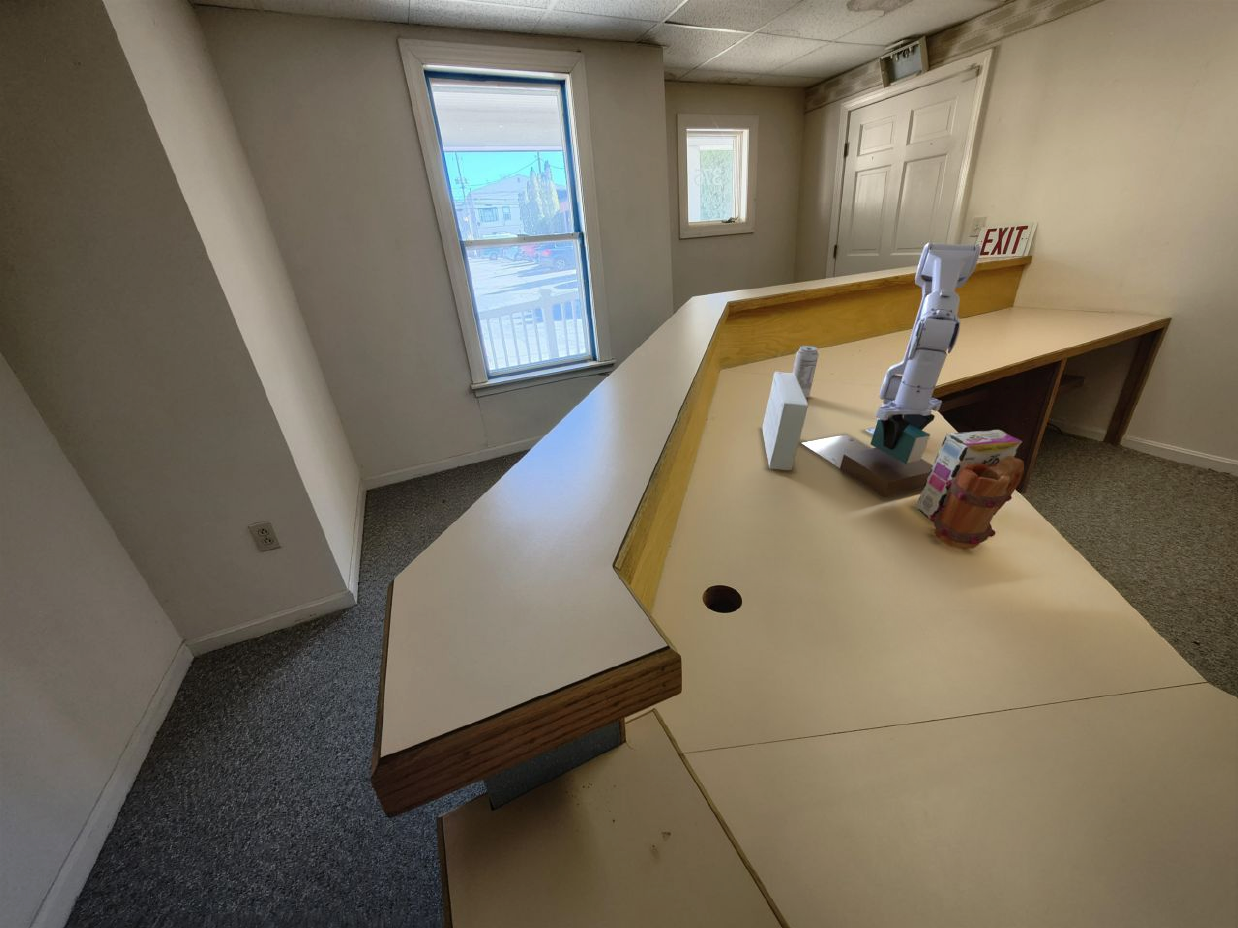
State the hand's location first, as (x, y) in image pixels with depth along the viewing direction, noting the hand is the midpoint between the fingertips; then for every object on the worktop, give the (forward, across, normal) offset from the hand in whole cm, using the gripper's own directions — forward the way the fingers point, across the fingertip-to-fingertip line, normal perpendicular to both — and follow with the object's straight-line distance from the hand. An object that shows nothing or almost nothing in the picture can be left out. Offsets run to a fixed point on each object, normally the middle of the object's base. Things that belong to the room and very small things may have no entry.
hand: (896, 445), depth 94 cm
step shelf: (+8, 0, +6) cm, 10 cm away
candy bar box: (+8, +1, -14) cm, 16 cm away
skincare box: (+8, -14, +19) cm, 25 cm away
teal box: (+2, 0, 0) cm, 2 cm away
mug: (+8, -3, -20) cm, 22 cm away
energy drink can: (+8, +13, +45) cm, 48 cm away
